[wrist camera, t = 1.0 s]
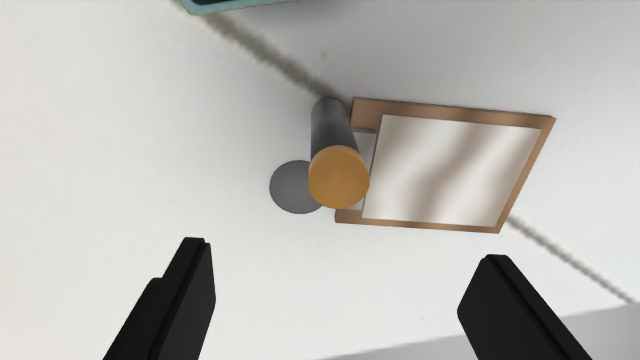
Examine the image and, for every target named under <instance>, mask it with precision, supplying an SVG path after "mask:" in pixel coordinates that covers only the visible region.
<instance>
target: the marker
mask: <svg viewBox="0 0 640 360" xmlns="http://www.w3.org/2000/svg"><path fill="white" fill-rule="evenodd" d="M369 184H370V178H369V174H368V171H367V168H366V165H365V162H364V160H363V158H362V156H361V155H360V152H359V149H358V146H357V143H356V140H355V137H354V134H353V130H352V127H351V124H350V121H349V118H348V115H347V112H346V109H345V107H344V105H343V104H342V103H341V102H339V101H338V100H336V99H331V98H328V99H323V100H321V101H319V102H318V103H317V104H316V105H315V106H314V108H313V110H312V114H311V163H310V165H309V177H308V186H309V191H310V193H311V195H312V197H313V198H314V199H315V200H316V201H317V202H318V203H320V204H321V205H323V206H325V207H328V208H333V209H342V208H347V207H350V206H353V205H355V204H356V203H358V202H359V201H360V200H361V199H363V197H364V196H365V195H366V193H367V191H368V189H369Z"/></svg>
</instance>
